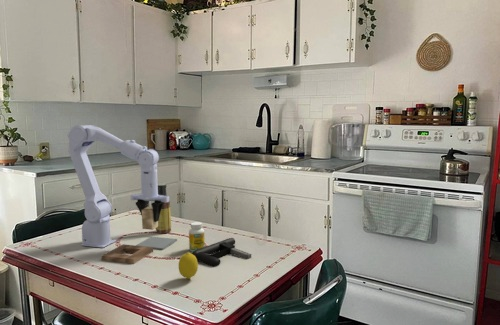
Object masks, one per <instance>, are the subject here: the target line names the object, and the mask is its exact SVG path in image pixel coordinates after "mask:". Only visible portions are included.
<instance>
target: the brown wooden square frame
mask: <svg viewBox="0 0 500 325" xmlns="http://www.w3.org/2000/svg"><path fill="white" fill-rule="evenodd" d="M153 252H154V249H153V247H144V246H136V244H135V245H133V244H121V245H119V246H117V247H115V248H113V249H112V250H110V251H108V252H106V253H104V254H102V255H101V261H108V262H114V263H122V264H131V265H134V264H136V263H138V262H139V261H141V260H142V259H144V258H145V257H147V256H148V255H151V253H153ZM124 253H132V254H124Z"/></svg>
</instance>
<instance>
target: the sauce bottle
mask: <svg viewBox="0 0 500 325" xmlns="http://www.w3.org/2000/svg"><path fill="white" fill-rule="evenodd" d="M158 195H163V196H168V195H167V183H164V182H162V183H158ZM155 232H156V233H157V234H161V235H162V234H168V233H169V234H170V232H172V213H171V201H170V199H169V202H167V203H164V205H163V207H162V209H161V212H160V216H159V221H158V227H157V228H155Z"/></svg>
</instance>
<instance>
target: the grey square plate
mask: <svg viewBox="0 0 500 325" xmlns="http://www.w3.org/2000/svg"><path fill="white" fill-rule="evenodd" d="M177 241H178V238H172V237H171V238H170V237H161V236H160V237H159V236H149V237H148V238H146V239H145V240H143V241H141V242H139V243H137V244H135V246H144V247H153V250H159V251H163V250H165V249H167V248H168V247H169V246H171V245H172V244H175V243H176V242H177Z"/></svg>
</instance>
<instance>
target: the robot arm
mask: <svg viewBox="0 0 500 325" xmlns="http://www.w3.org/2000/svg"><path fill="white" fill-rule="evenodd" d="M67 138H68V155H69V157H70V159H71V162H72V164H73V168H74V169H75V170H74V171H75V172H76V175H77V177H78V181H79V183H80V186H81V188H82V191H83V193H84V197H85V199H84V202H83V208H84V216H85V218H86V220H84V222H83V223H82V226H81V236H82V237H81V238H82V241H81V242H82V243H81V244H80V246H84V247H92V248H94V247H95V248H101V249H102V248H105V247H107V246H109V245H112V244H113V243H116V241H117V240H116V239H112V238H111V236H112V235H111V219H110V218H111V217H110V215H111V214H112V213H113V205H112V203H111V202H110V201H109V200H108V198H107V195H105V194H103V193H102V192H101V189H100V187H99V183H98V182H97V181H98V180H97V178H96V176H95V173H94V170H93V167H92V164H91V163H90V162H91V161H90V159H89V156H88V154H87V152H88V150H89V148H90V147H91V145H93V144H94V143H95V141H96V142H98V141H99V142H102V143H104V144H106V145H109V146H111V147H113V148H116V149H118V150H119V151H120V154H121V155H123V156H125V157H127V158H129V159H131V160H133V161H135V162H137V163H138V165H139V166H140V189H141V193H140V194H139V193H138V194H137V193H133V194H131V195H130V201H136V202H135V206H136V207H137V209H138V211H139V213H140V215H141V217H142V209H145V208H147V207H149V202H151V204H150V205H151V207H152V208H153V214H154V222H157V221H159V216H160V212H161V209H162V207H163V205H164V203H167V202H169V200H170V196H169V195H167V196H163V195H158V184H159V183H158V182H159V181H158V162H159V160H160V155H159V153H158V151H156V150H155V148H149V149H148V147H147V146H146V145H141V144H139V143H137V142H136V141H137V140H134V139H131V140H130V139H126V140H123V139H121V138H119V137H117V136H116V135H114V134H112V133H110V132H108V131H106V130H104V129H103V128H101V127H99V126H96V125H95V124H86V125H85V124H82V125H79V124H76V125H74V126H72V127H71V128H70V130H69V131H68V134H67Z"/></svg>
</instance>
